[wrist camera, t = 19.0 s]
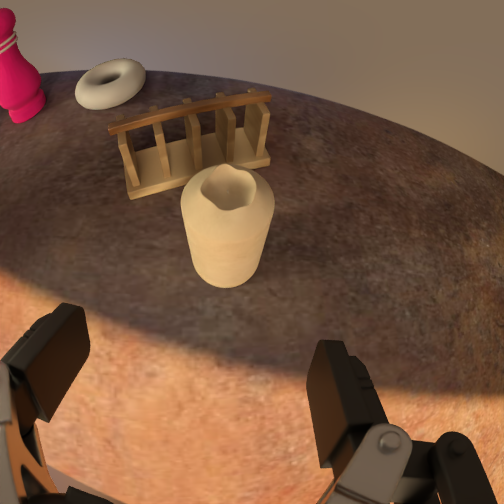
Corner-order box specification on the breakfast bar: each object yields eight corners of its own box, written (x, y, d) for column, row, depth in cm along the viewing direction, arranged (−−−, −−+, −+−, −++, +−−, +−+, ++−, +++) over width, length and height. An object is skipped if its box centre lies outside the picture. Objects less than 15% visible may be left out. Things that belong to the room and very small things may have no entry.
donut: (159, 74, 36) (101, 72, 36) (157, 54, 33) (97, 54, 32) (126, 118, 32) (65, 113, 31) (121, 96, 28) (58, 95, 28)
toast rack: (130, 200, 27) (108, 146, 20) (125, 162, 29) (107, 109, 22) (269, 165, 30) (281, 109, 23) (252, 132, 32) (260, 78, 25)
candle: (197, 293, 24) (182, 236, 15) (188, 232, 26) (174, 154, 17) (265, 282, 25) (290, 221, 16) (251, 223, 27) (265, 144, 18)
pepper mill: (57, 91, 34) (23, -16, 16) (34, 123, 31) (-14, 8, 13) (25, 97, 33) (-12, 1, 15) (2, 128, 30) (-46, 28, 12)
